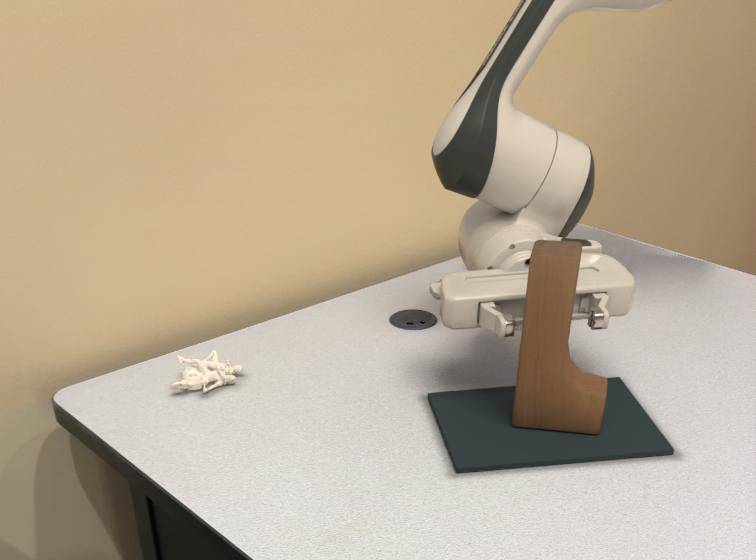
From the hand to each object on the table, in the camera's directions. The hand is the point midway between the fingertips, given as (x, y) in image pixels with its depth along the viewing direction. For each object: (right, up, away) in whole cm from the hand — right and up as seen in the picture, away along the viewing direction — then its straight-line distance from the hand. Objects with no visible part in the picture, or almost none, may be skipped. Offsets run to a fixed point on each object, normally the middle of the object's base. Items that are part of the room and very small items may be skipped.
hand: (554, 326), depth 89 cm
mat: (+1, -9, +6) cm, 11 cm away
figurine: (-37, -2, +18) cm, 41 cm away
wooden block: (+2, -9, +6) cm, 10 cm away
